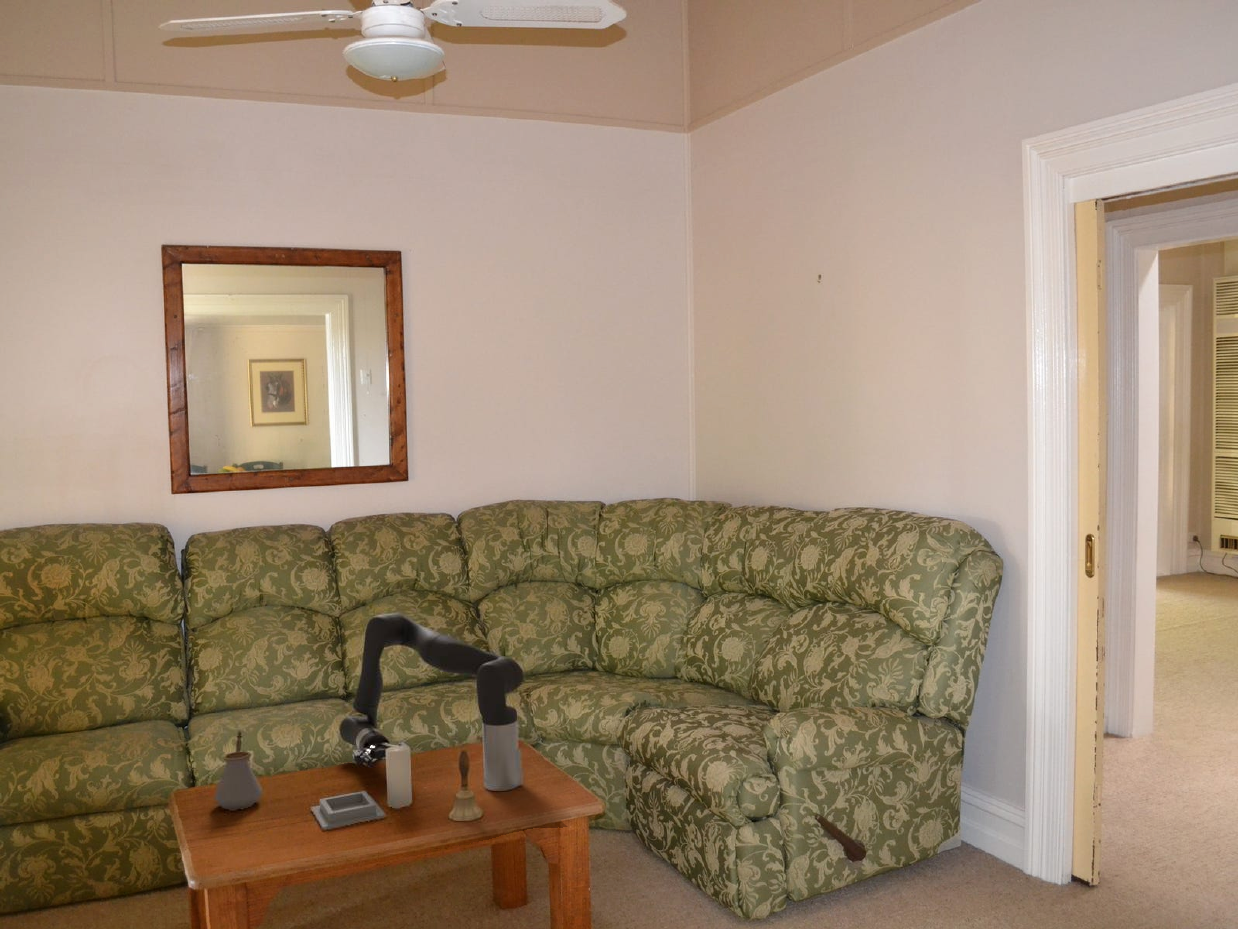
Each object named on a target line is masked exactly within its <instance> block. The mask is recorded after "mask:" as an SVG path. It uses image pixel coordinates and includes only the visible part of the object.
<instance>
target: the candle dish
mask: <svg viewBox="0 0 1238 929" xmlns="http://www.w3.org/2000/svg"><path fill="white" fill-rule="evenodd" d="M318 801H319V805H315V806H314V805H313V806H311V807H310V810H311V812H313V813H312V815H313V816H314V815H315V816H314V818H315V819H316V821H317V822H319V823H318V824H319V825H320V827H321V829H322V831H327V829H328V830H333V829H337V828H342V826H343V827H346V826H345V825H348V826H352V825H351V824H353V823H357V822H361V821H368V822H371V821H370V820H373V819H377V818H383V819H386V818H387V816H386V813H385V812H384V810H382V808H381V806H380V805H379V804H378V802H376V800H375V799H374V798H373V797H372V796H371V795H369V794H368V792H367V791H366V790H362V791H357V792H351V793H345V794H341V795H336V796H331V797H325V798H319V799H318ZM385 817H386V818H385ZM373 821H374V820H373ZM353 825H354V824H353ZM332 828H333V829H332Z"/></svg>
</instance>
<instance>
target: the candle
mask: <svg viewBox="0 0 1238 929" xmlns="http://www.w3.org/2000/svg"><path fill="white" fill-rule="evenodd" d="M408 746H409V745H408ZM408 746H393V747H389V748H387V749H386V759H385V767H386V769H385V771H386V797H387V807H388V806H389V808H390V807H392V808H391V809H402V808H401V807H405V806H408V805H409V804H411V803H412V804H413V795H412V770H411V769H412V768H411V766H412V765H411V748H410V746H409V747H408ZM412 804H411V805H412ZM408 807H409V806H408ZM405 808H406V807H405Z"/></svg>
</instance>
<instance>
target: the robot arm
mask: <svg viewBox="0 0 1238 929" xmlns="http://www.w3.org/2000/svg"><path fill="white" fill-rule="evenodd" d="M365 628H366V629H365V634H364V641H363V649H362V650H363V651H362V652H363V653H362V659H361V661H362V662H361V671H360V677H359V681H358V685H357V687H356V688H357V689H356V691H355V696H354V699H353V703H352V708H353V709H354V711H355V712H357V713H359V714H361V715H365V717H364V716H354V715H352V716H351V715H349V716H347V717H344V718H343V719H342V721H340V724H339V735H340V737H341V739H342V741H343V742H345V743H347V744H349V745H352V746H355V747H356V748H357V749H356V748H354V749H352V760H353V762H354V764H355V765H356V766H360V765H361V764H363V765H365V766H366V767H368V768H373V767H374V766H373V763H379V762H381V761H383V760H384V759H385V760H386V749H387V748H389V747H393V746H408V747H410V746H409V745H407V744H406V743H405V742H403V741H399V742H398V744H397V745H396V744H392V743H390V741H389V739H388V737H387V736H385V734H383V733H382V732H381V731H380V730H379V729H378V709H379V708H378V707H379V705H380V704H379V703H380V700H381V696H382V692H383V689H384V679H383V675H382V671H381V666H380V665H381V662H380V661H381V657H382V654H383V652H384V650H385V648H388V647H393V646H403V647H405V648H409V649H412V650H414V651H416V652H417V653H418V655H419V656H420V658H421V660H422V661H423V662H424V663H425V664H427V665H429V666H430V667H433V668H435V669H437V670H440V671H442V672H445V673H448V674H449V673H450V674H455V675H456V674H458V675H465V676H466V675H467V676H468V675H469V676H474V677H476V679H475V680H476V682H475V683H476V693H477V706H478V711H479V713H480V716H481V728H482V729H481V730H482V734H481V735H482V757H483V763H482V764H483V787H484V788H485V789H486V790H488V791H494V792H503V791H504V792H505V791H510V790H514V789H516V788H517V787H520V786H522V785H523V768H522V767H523V766H522V750H521V748H519V734H518V733H519V730H518V711H517V709H516V708H515V707H514V706H511V705H507V702H506V694H509V693H512V692H514V691H516V690H517V689H519V687H520V686H521V685H522V683H523V681H524V672H523V669H522V668H521V666H520V664H519V663H518V662H517V661H516V660H514V659H512V658H510V657H508V656H505V655H501V654H500V655H499V654H496V653H493V652H489V651H485V650H483V649H481V648H478V647H476V646H473V645H471V644H468V643H466V642H463V641H461V640H459V639H456V638H455V637H452V636H449V635H447V634H444V633H441V632H439V631H436V630H434V629H431V628H428V627H426V626H423V625H421V624H419V623H418V622H416V621H414V620H412V619H410V618H408V617H407V616H405V615H403V614H402V613H399V612H398V613H397V612H390V613H384V614H378V615H374V616H372V617H371V618H370V619H369V620H368V622H367V625H366V627H365Z"/></svg>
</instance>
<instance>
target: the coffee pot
mask: <svg viewBox="0 0 1238 929" xmlns="http://www.w3.org/2000/svg"><path fill="white" fill-rule="evenodd" d="M242 733H243V734H244V735H242ZM245 735H246V734H245V732H243V731H241V730H239V731H238V732H235V736H236V739H237V740H236V751H234V752H230V753H226V754H225V755H224V756H223V760H224V761H225V763H226V765H225V768H224V770H223V773H222V775H221V778H220V781H219V783H218V786H217V789H216V790H215V791H216V792H215V794H214V800H215V803H216V804H217V805H219V806H220V807H222V808H223V809H224V808H226V809H229V810H228V811H238V810H237V809H241V810H243V809H242V808H246V809H248V807H249V808H251V807H252V806H251V805H253V804H254V803H255V804H256V802H257V801H258V800H259V799H260V798H261V796H262V793H263V789H262V787H261V785H260V782H259V781H258V779H257V777H256V775H255V774H254V771H253V770H252V768H251V766H250V764H249V762H248V761H249V760H250V757H251V756H252V753H251V752H248V751H242V738H243V737H244V736H245ZM255 804H254V805H255ZM254 805H253V806H254ZM250 806H251V807H250Z"/></svg>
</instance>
